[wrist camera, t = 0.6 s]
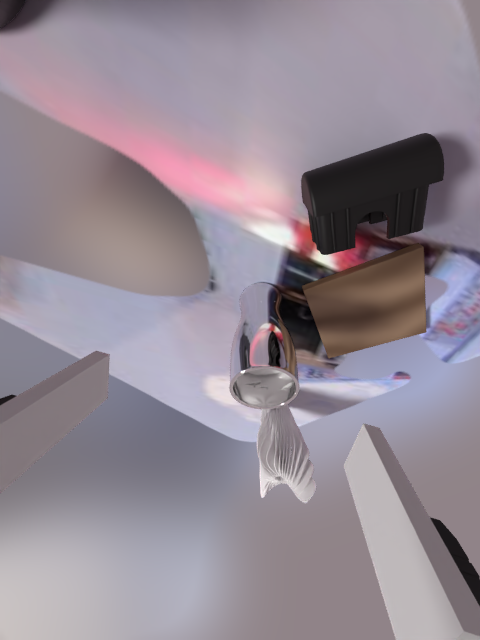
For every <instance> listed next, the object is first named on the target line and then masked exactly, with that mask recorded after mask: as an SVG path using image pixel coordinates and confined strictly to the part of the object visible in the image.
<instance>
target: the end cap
mask: <svg viewBox="0 0 480 640" xmlns="http://www.w3.org/2000/svg"><path fill="white" fill-rule="evenodd" d="M443 175H444V159H443V153H442V149H441V147H440V144H439V142H438V141H437V139H436V138H435V137H434V136H432V135H431V134H427V133H423V134H419V135H416V136H413V137H410V138H407V139H404V140H401V141H398V142H395V143H392V144H389V145H386V146H383V147H380V148H377V149H374V150H371V151H368V152H365V153H362V154H359V155H356V156H353V157H350V158H347V159H344V160H341V161H338V162H335V163H332V164H329V165H326V166H323V167H320V168H317V169H314V170H311V171H308V172H305V173H304V174H303V176H302V180H301V187H302V198H303V203H304V204H305V206H306V207H307V209H308V215H309V223H310V230H311V233H312V240H313V242H315V243H316V246H317V250H319V251H320V252H321V254H323V255H328V254H332V253H336V252H340V251H344V250H348V249H351V248H355V229H356V226H357V224H359V223H363V222H366V221H369V223H370V224H374V223H377V222H381V221H385V220H387V238H388V239H391V238H394V237H398V236H402V235H406V234H410V233H414V232H418V231H420V230H422V229H423V222H424V215H425V208H426V201H427V194H428V187H429V184H432V183H436V182H439V181H442V180H443Z"/></svg>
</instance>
